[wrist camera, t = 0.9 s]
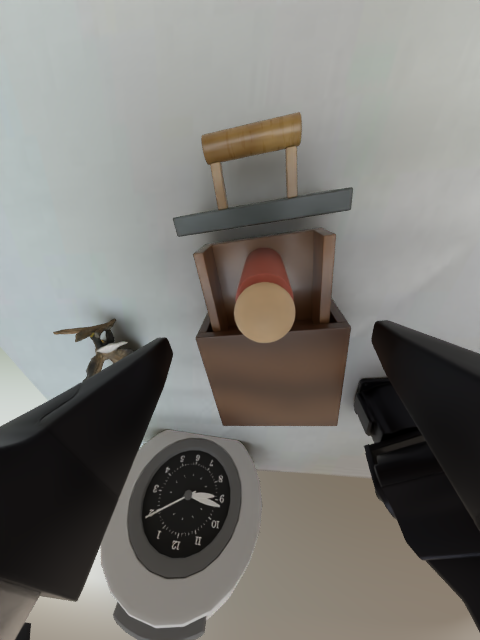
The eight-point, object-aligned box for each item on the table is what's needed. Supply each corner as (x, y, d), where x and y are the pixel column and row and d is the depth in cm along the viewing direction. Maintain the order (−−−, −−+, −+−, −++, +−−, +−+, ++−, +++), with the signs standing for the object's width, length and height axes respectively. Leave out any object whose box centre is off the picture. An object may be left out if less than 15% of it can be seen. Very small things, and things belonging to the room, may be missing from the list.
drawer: (177, 157, 15) (150, 143, 12) (336, 121, 14) (364, 92, 10) (218, 327, 23) (209, 352, 19) (324, 319, 21) (337, 344, 17)
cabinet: (210, 306, 23) (194, 337, 18) (329, 295, 21) (351, 326, 16) (230, 385, 29) (222, 426, 24) (322, 382, 27) (337, 426, 22)
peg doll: (282, 244, 17) (302, 291, 8) (284, 283, 19) (302, 355, 10) (241, 250, 17) (221, 299, 9) (247, 287, 19) (234, 359, 11)
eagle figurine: (62, 319, 24) (80, 382, 27) (42, 343, 18) (68, 420, 21) (134, 311, 28) (142, 368, 31) (136, 330, 22) (146, 398, 25)
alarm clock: (262, 444, 36) (262, 665, 19) (256, 464, 40) (251, 663, 23) (144, 425, 36) (40, 623, 19) (149, 447, 40) (66, 628, 23)
